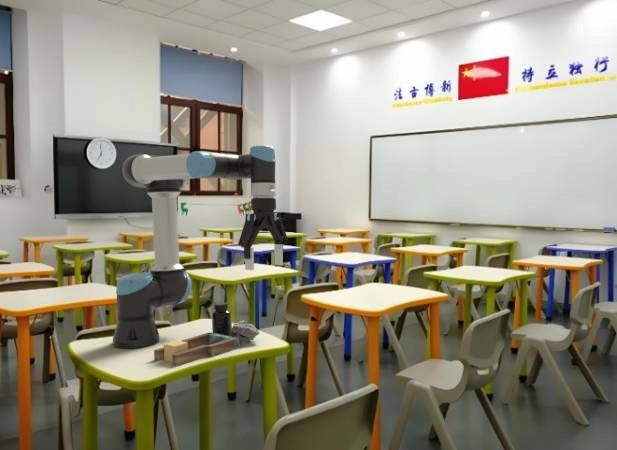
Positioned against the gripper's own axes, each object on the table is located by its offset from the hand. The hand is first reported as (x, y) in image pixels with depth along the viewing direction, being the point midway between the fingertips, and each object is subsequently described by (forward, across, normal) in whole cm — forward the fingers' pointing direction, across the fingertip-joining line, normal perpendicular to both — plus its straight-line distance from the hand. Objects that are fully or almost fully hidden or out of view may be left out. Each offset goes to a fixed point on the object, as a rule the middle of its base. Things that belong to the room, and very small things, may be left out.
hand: (264, 267), depth 153 cm
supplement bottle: (+28, +9, +28) cm, 40 cm away
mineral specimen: (+28, +9, +17) cm, 34 cm away
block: (+28, -17, +21) cm, 39 cm away
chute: (+27, -10, +21) cm, 36 cm away
